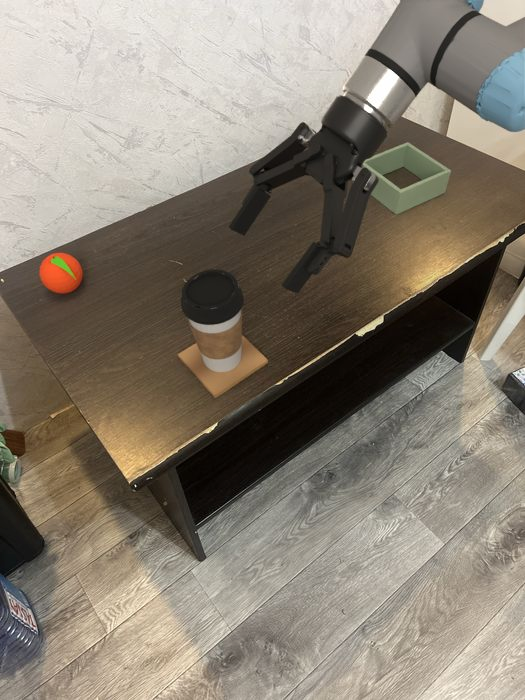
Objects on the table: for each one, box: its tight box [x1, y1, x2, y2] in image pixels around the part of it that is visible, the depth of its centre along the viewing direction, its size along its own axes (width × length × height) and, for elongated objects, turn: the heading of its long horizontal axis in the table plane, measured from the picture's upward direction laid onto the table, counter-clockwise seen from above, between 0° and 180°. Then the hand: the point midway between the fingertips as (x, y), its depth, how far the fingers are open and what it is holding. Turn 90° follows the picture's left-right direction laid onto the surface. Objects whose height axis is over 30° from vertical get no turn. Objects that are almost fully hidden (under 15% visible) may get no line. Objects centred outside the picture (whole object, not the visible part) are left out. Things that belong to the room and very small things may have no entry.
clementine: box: [39, 252, 84, 294], centre depth 86 cm, size 8×7×7 cm
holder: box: [362, 142, 452, 216], centre depth 100 cm, size 13×13×5 cm
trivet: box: [177, 334, 269, 399], centre depth 77 cm, size 10×10×1 cm
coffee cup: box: [180, 268, 245, 372], centre depth 71 cm, size 8×8×15 cm
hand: (261, 258), depth 66 cm, fingers open, 13 cm apart
